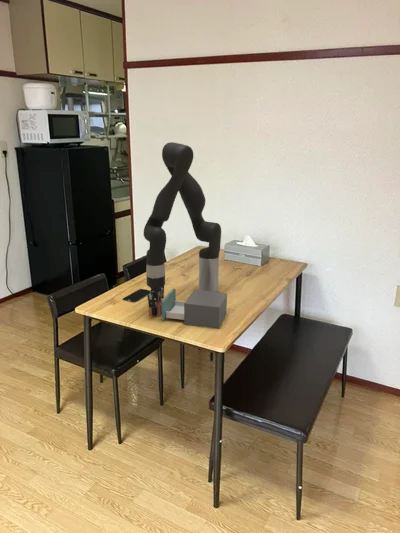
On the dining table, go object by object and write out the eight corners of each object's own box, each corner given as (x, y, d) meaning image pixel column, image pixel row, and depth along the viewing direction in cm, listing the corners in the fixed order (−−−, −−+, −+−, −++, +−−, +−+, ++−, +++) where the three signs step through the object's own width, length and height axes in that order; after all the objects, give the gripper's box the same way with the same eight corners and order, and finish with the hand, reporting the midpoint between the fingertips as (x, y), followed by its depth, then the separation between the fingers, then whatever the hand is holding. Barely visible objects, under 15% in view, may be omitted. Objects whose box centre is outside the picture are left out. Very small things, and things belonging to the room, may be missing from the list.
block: (153, 310, 183) (153, 299, 181) (164, 311, 182) (164, 300, 180) (149, 315, 178) (148, 304, 177) (160, 316, 177) (160, 305, 176)
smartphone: (120, 299, 194) (140, 288, 206) (121, 300, 194) (140, 289, 206) (134, 302, 190) (153, 291, 203) (135, 304, 190) (154, 292, 203)
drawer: (171, 304, 186) (171, 288, 184) (203, 307, 183) (204, 291, 181) (159, 318, 172) (158, 301, 170) (194, 323, 169) (194, 305, 166)
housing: (194, 309, 184) (194, 289, 181) (226, 313, 181) (227, 293, 178) (184, 324, 170) (184, 303, 167) (219, 328, 167) (219, 307, 164)
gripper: (153, 267, 182) (154, 305, 187) (140, 279, 169) (141, 318, 174) (170, 269, 180) (170, 306, 186) (158, 280, 167) (159, 320, 172)
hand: (156, 312), depth 180 cm, fingers closed on block, 5 cm apart
